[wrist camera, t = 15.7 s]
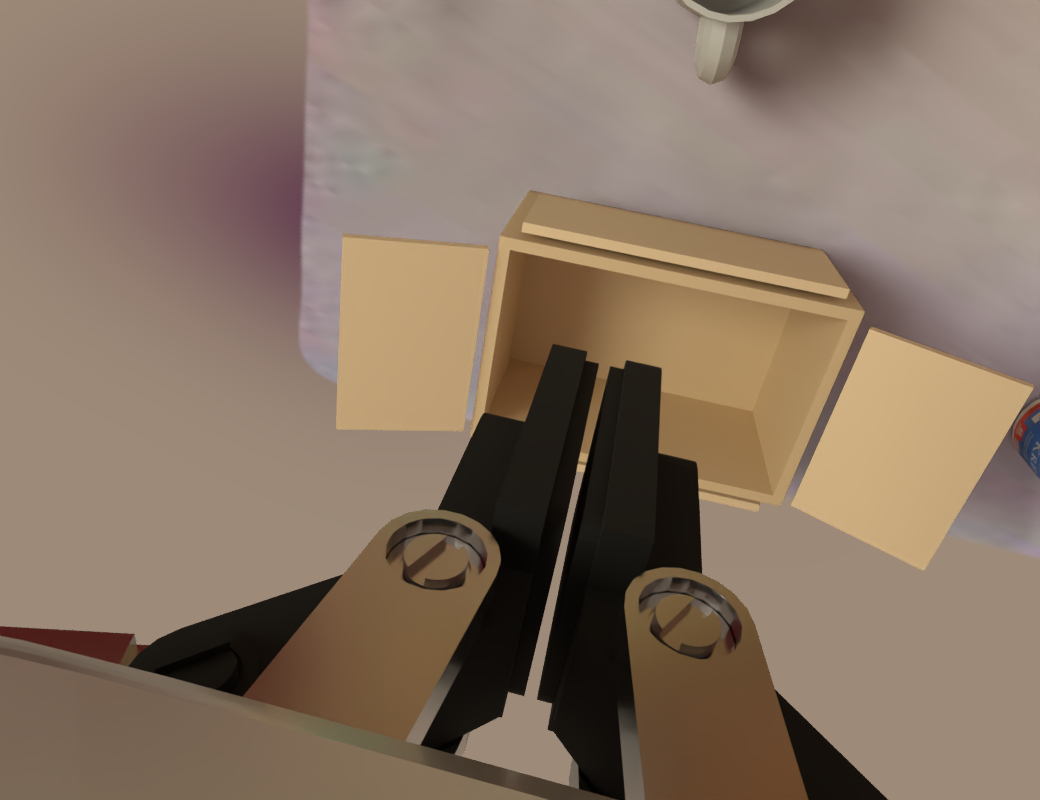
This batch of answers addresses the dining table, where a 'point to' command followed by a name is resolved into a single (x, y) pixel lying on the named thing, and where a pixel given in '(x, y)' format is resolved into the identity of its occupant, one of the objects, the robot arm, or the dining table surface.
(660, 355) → the carton
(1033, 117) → the dining table surface
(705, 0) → the cup
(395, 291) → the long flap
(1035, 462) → the pill bottle
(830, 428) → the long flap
